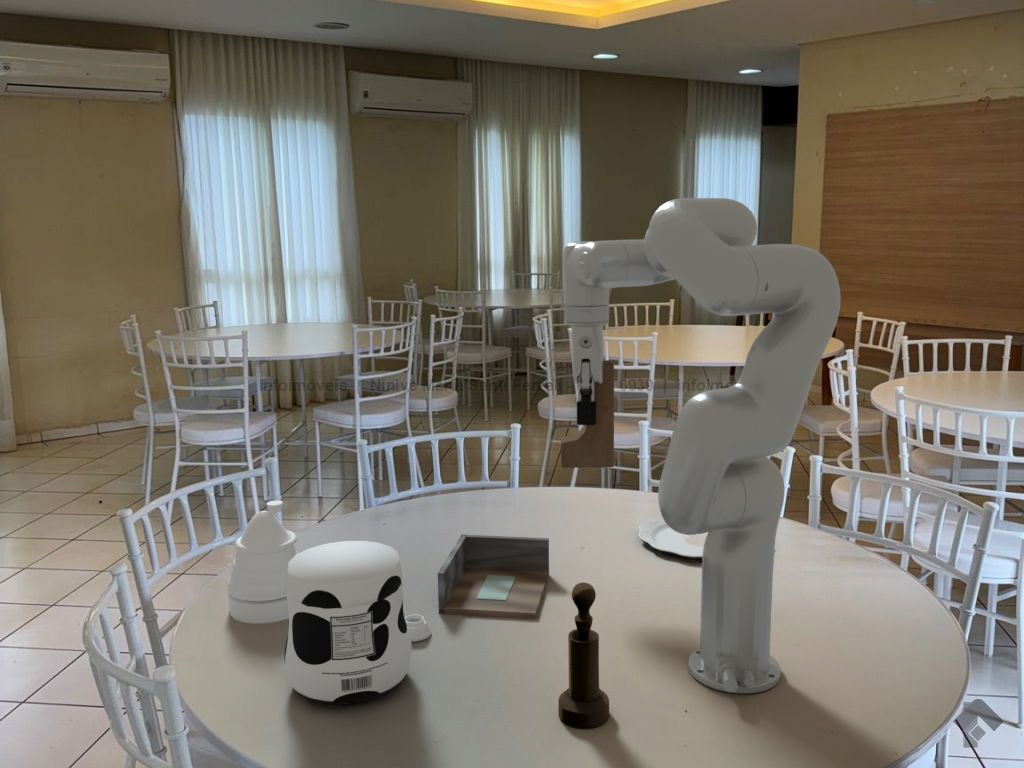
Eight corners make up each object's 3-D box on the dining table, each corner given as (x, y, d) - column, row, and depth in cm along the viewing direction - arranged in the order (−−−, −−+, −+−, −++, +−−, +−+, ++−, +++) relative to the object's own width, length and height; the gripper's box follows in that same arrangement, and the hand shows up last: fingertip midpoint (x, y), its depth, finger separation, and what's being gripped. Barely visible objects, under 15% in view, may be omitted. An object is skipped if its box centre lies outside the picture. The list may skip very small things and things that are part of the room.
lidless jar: (433, 640, 135) (426, 626, 140) (433, 622, 135) (426, 609, 140) (401, 646, 134) (395, 631, 139) (400, 628, 133) (394, 614, 138)
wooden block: (561, 468, 151) (560, 364, 148) (560, 461, 156) (559, 360, 152) (614, 468, 151) (614, 364, 148) (612, 460, 155) (612, 359, 152)
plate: (794, 554, 168) (795, 544, 168) (681, 575, 159) (681, 565, 159) (718, 514, 191) (718, 506, 191) (616, 531, 182) (616, 522, 182)
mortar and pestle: (578, 696, 119) (578, 570, 115) (619, 712, 115) (620, 582, 111) (548, 718, 114) (547, 586, 110) (590, 735, 110) (590, 599, 106)
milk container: (350, 642, 135) (344, 530, 132) (437, 673, 125) (433, 553, 122) (260, 691, 121) (251, 567, 118) (349, 730, 111) (342, 597, 108)
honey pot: (309, 587, 156) (303, 489, 152) (308, 618, 143) (301, 512, 140) (233, 594, 153) (225, 495, 150) (225, 627, 141) (217, 519, 137)
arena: (535, 618, 142) (535, 577, 141) (438, 613, 145) (437, 573, 143) (549, 575, 159) (548, 538, 158) (462, 570, 162) (461, 534, 161)
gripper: (608, 320, 140) (608, 432, 143) (609, 310, 157) (608, 411, 160) (561, 321, 141) (562, 432, 144) (566, 310, 157) (567, 410, 161)
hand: (586, 420), depth 152 cm, fingers closed on wooden block, 4 cm apart
